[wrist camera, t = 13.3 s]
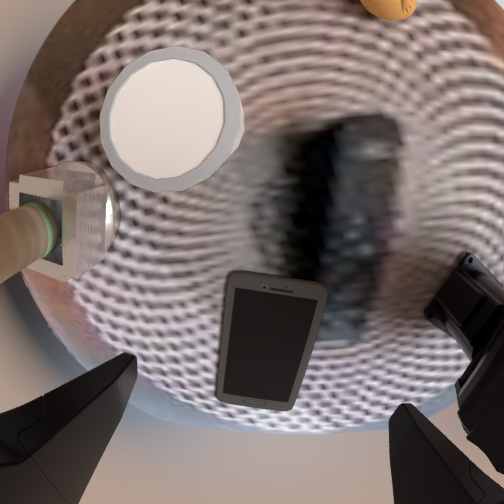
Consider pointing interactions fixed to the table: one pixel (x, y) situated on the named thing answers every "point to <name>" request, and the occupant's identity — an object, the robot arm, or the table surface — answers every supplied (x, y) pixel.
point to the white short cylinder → (171, 119)
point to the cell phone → (267, 338)
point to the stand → (72, 215)
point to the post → (26, 237)
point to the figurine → (390, 8)
